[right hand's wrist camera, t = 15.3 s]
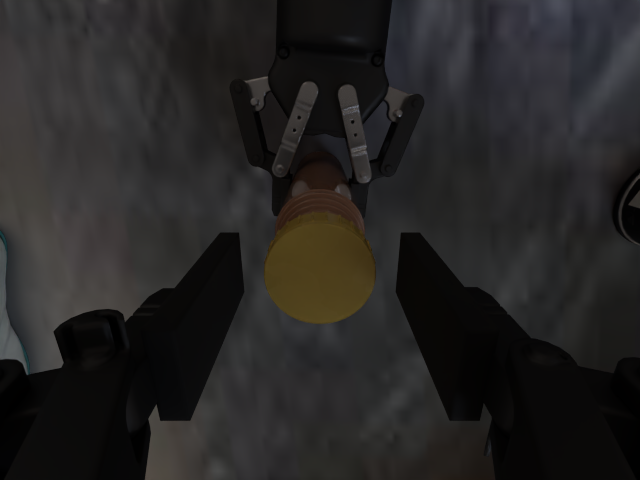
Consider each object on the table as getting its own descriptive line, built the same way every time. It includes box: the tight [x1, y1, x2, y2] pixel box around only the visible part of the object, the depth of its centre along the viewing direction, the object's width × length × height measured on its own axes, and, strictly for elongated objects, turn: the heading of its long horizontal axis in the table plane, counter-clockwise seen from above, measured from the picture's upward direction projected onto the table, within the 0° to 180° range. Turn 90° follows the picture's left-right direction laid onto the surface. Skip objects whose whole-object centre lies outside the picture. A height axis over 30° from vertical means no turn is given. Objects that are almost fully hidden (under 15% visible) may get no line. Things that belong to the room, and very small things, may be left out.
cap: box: [264, 211, 376, 324], centre depth 14 cm, size 4×4×2 cm
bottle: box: [275, 151, 365, 236], centre depth 23 cm, size 5×5×21 cm
